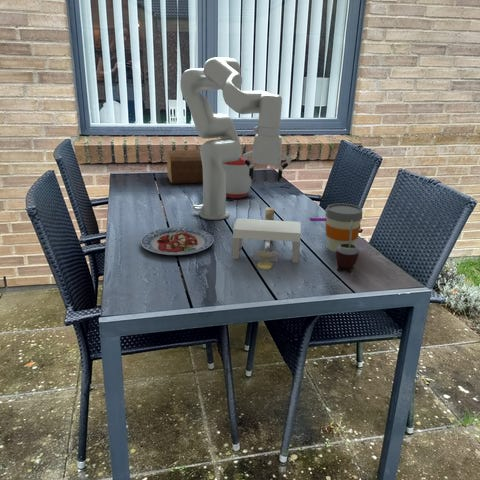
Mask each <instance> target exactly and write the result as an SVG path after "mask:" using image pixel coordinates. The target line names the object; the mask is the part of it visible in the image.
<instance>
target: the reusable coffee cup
mask: <svg viewBox="0 0 480 480" xmlns="http://www.w3.org/2000/svg"><path fill="white" fill-rule="evenodd" d="M326 209H327V211H325V217H326V218H327V221H325V234H326V235H325V236H326V237H327V238H326V239H327V249H328V250H329V251H330V250H331V251H330V252H333V253H336V251H337V248H338V247H339V245H341V244H344V243H346V244H349V238H350V229H351V220H353V227H352V229H353V230H352V236H351V244H352V245H354V246H355V243H356V240H357V239H358V236H359V233H360V229H361V221H362V219H363V209H362V207H360V206H358V205H355V204H351V203H344V202H342V203H340V202H339V203H338V202H337V203H332V204H329V205H327V207H326Z"/></svg>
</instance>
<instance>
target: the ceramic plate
mask: <svg viewBox="0 0 480 480" xmlns="http://www.w3.org/2000/svg"><path fill="white" fill-rule="evenodd" d="M213 244H214V237H213V236H212V234H210V233H209V232H207V231H205V230H202V229H198V228H195V227H194V228H193V227H186V226H174V227H173V226H172V227H164V228H159V229H155V230H153V231H150V232H147V233H146V234H144V235H143V236H142V237H141V239H140V245H141V247H142V248H143V249H145V250H147V251H149V252H152V253H155V254H158V255H167V256H183V255H191V254H195V253H199V252H203V251H205V250H206V249H208V248H210V247H211V246H212V245H213Z"/></svg>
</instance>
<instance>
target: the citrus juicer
mask: <svg viewBox="0 0 480 480" xmlns="http://www.w3.org/2000/svg"><path fill="white" fill-rule="evenodd" d="M249 162H250V163H251V162H252V160H249ZM222 167H223V168H224V170H225V172H226V198H231V199H241V198H245V197H247V196H248V195H249V193H250V189H251V187H252V186H251V185H252V180H251V177H250V176H249V167H248V166H247V165H246V164H245V162H244V160H243V157H240V158H239V159H238V160H236V161H232V162H226V163H222Z"/></svg>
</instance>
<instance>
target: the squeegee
mask: <svg viewBox="0 0 480 480" xmlns="http://www.w3.org/2000/svg"><path fill="white" fill-rule="evenodd" d="M326 211H327V208H325V212H326ZM309 220H310V221H313V222H314V221H315V222H317V221H319V222H326V221H327V217H310V218H309Z"/></svg>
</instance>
